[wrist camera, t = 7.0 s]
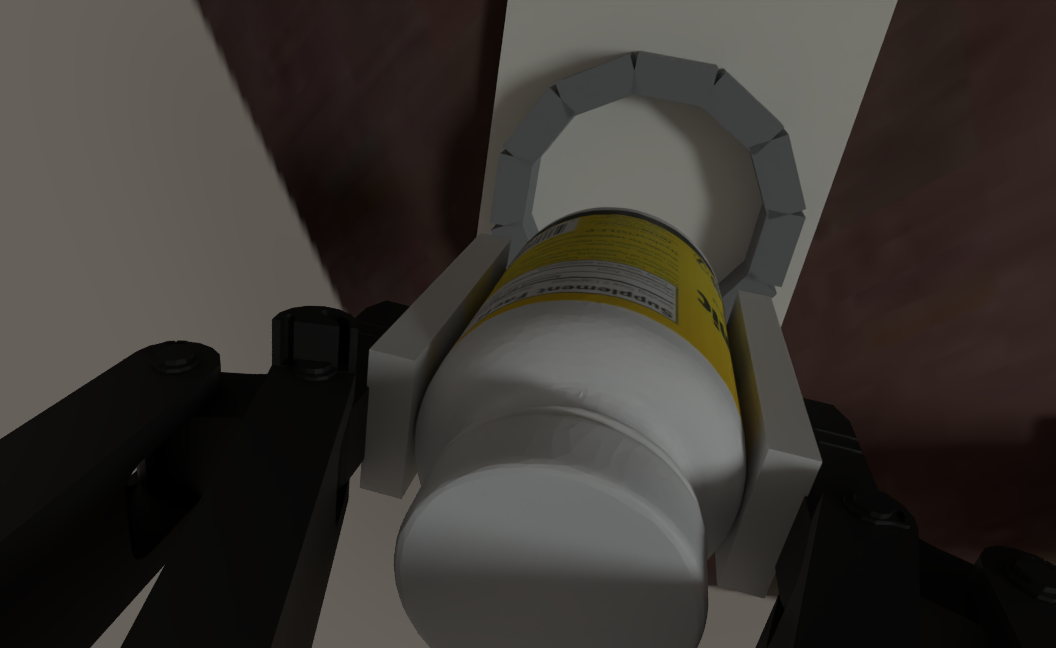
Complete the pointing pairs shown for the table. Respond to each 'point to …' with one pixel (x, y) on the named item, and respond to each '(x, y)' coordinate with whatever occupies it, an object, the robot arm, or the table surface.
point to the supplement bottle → (578, 449)
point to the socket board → (681, 122)
